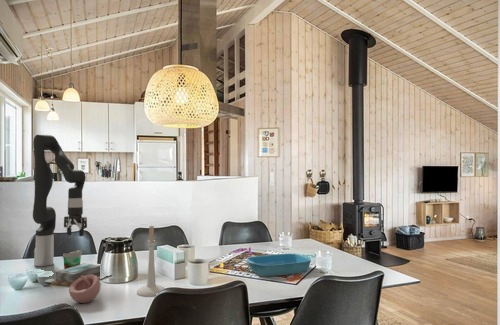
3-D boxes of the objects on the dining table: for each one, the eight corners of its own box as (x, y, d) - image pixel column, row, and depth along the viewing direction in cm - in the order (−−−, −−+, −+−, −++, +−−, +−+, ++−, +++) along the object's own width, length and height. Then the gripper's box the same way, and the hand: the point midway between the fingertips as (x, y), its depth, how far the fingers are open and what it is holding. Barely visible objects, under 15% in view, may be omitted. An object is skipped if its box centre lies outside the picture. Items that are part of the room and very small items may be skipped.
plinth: (44, 282, 185) (44, 271, 185) (79, 271, 206) (79, 261, 206) (79, 287, 177) (79, 276, 177) (111, 275, 198) (112, 264, 198)
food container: (72, 272, 203) (72, 254, 203) (62, 272, 204) (62, 253, 204) (86, 266, 215) (87, 249, 215) (77, 266, 216) (77, 248, 216)
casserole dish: (298, 263, 224) (298, 251, 224) (319, 272, 203) (319, 259, 203) (239, 269, 209) (239, 256, 210) (256, 280, 189) (256, 266, 189)
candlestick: (138, 298, 163) (138, 228, 164) (134, 289, 175) (135, 224, 175) (168, 294, 168) (168, 226, 169) (162, 286, 180) (163, 222, 180)
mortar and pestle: (62, 305, 155) (62, 276, 155) (84, 295, 166) (84, 269, 166) (85, 308, 151) (85, 279, 151) (106, 299, 162) (106, 272, 162)
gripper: (60, 206, 209) (59, 236, 209) (80, 207, 204) (80, 237, 204) (70, 205, 216) (70, 233, 216) (90, 206, 211) (90, 235, 211)
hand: (75, 235), depth 210 cm, fingers open, 8 cm apart
